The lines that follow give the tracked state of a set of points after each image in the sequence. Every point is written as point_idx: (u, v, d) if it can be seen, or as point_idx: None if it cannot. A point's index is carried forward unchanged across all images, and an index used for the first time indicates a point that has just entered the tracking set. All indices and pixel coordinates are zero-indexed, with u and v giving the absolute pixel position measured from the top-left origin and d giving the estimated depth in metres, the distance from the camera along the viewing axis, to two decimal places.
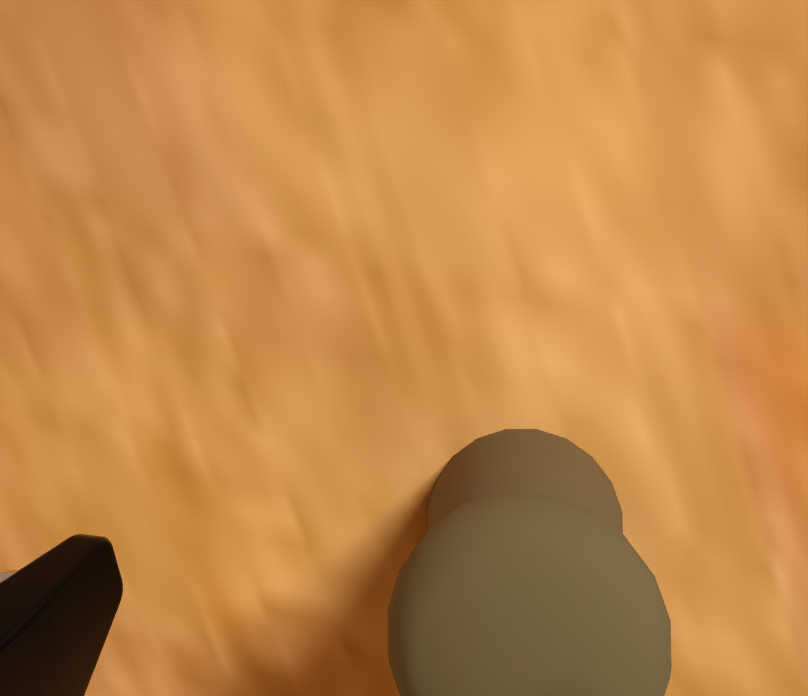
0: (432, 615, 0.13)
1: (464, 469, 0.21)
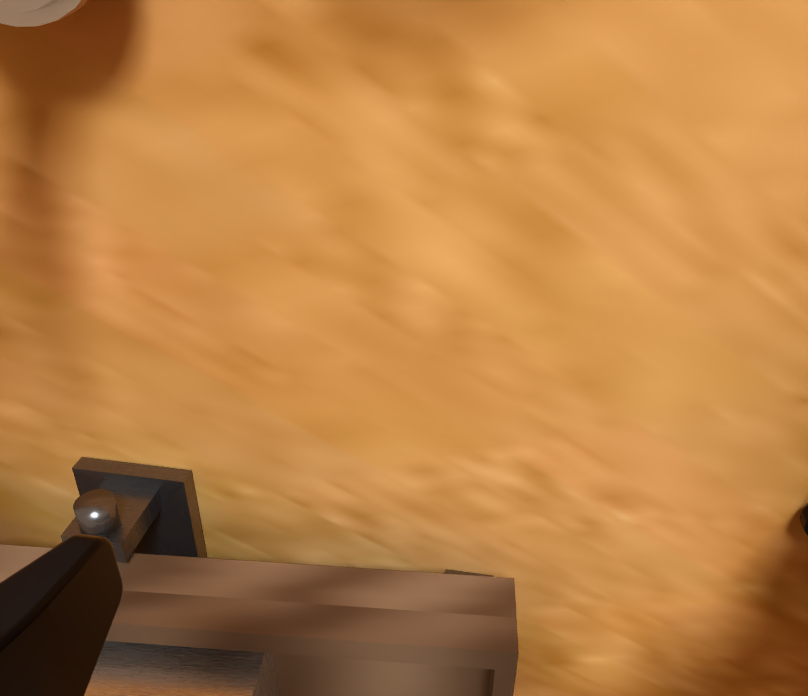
0: None
1: None
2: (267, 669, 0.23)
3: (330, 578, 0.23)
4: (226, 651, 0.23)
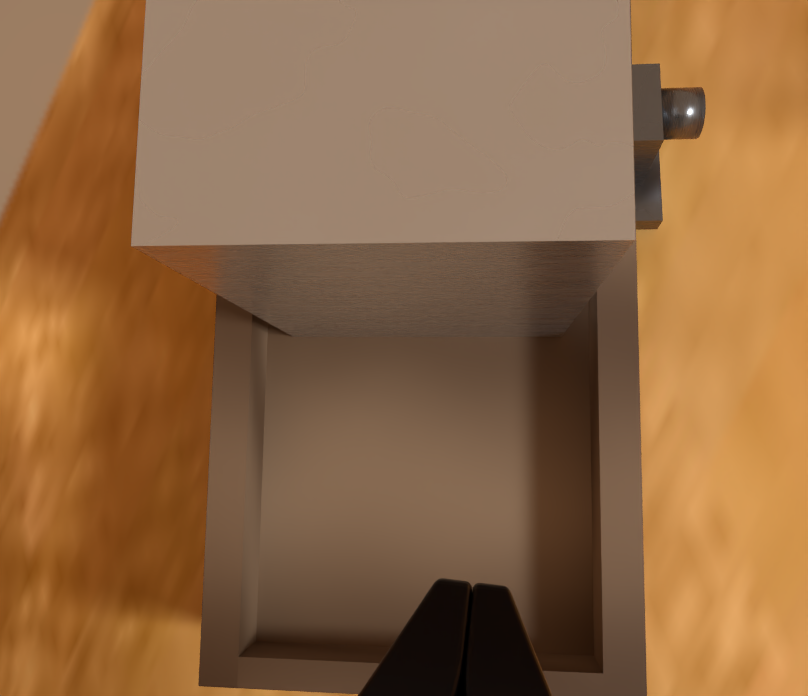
0: None
1: None
2: (522, 332, 0.16)
3: None
4: None
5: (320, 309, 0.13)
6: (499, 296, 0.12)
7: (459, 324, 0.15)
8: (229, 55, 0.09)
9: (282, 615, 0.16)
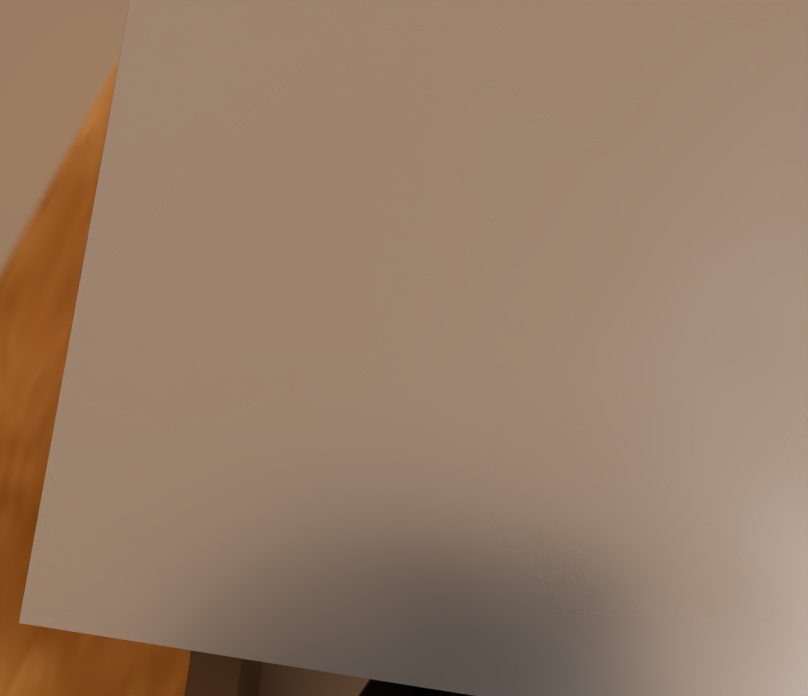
0: None
1: None
2: None
3: None
4: None
5: None
6: None
7: None
8: (242, 271, 0.05)
9: None
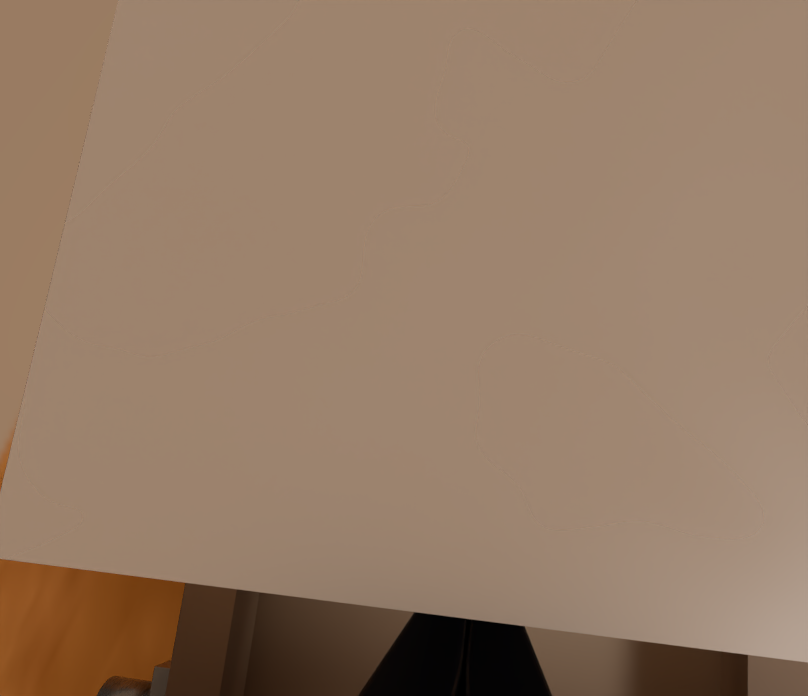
0: None
1: None
2: None
3: None
4: None
5: None
6: None
7: None
8: (227, 205, 0.05)
9: None
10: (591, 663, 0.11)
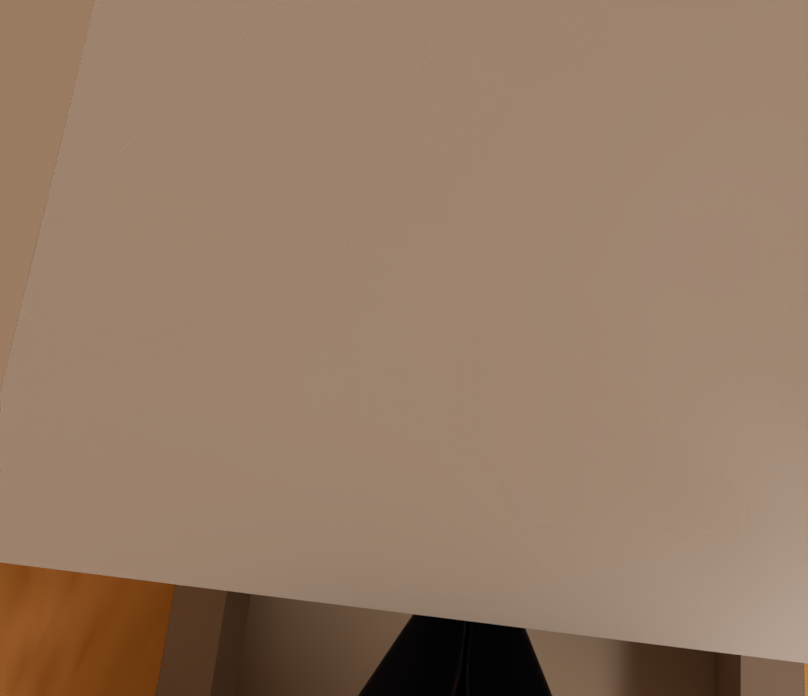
0: None
1: None
2: None
3: None
4: None
5: None
6: None
7: None
8: (206, 200, 0.05)
9: None
10: None
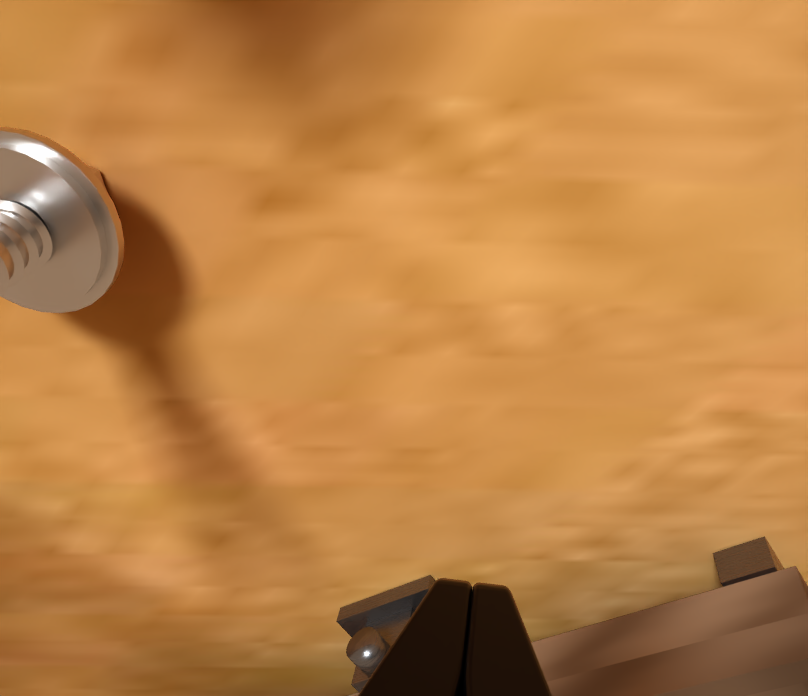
0: None
1: None
2: None
3: (599, 637, 0.22)
4: None
5: None
6: None
7: None
8: None
9: None
10: None
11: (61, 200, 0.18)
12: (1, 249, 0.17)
